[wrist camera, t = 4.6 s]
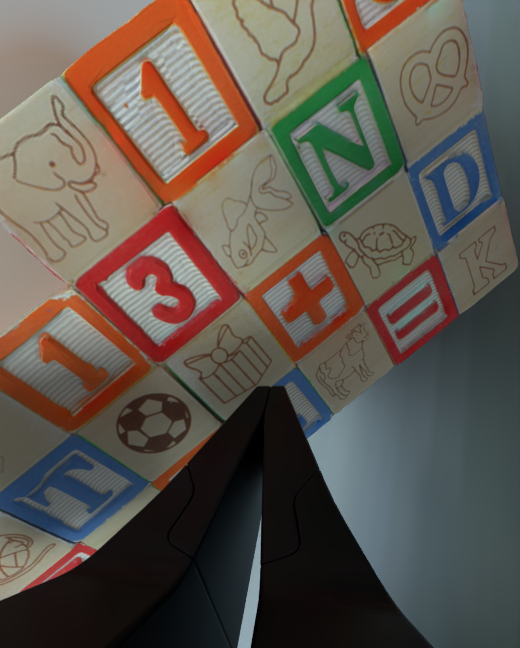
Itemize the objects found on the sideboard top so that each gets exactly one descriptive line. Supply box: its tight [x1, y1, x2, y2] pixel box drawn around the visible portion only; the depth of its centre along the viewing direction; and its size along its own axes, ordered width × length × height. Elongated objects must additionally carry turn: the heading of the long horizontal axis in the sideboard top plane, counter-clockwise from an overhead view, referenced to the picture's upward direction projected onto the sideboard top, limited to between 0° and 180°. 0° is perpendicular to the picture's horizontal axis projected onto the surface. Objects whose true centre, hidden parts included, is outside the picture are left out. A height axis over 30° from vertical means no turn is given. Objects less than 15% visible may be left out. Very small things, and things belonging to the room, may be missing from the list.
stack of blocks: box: [0, 0, 518, 600], centre depth 11 cm, size 21×6×12 cm
